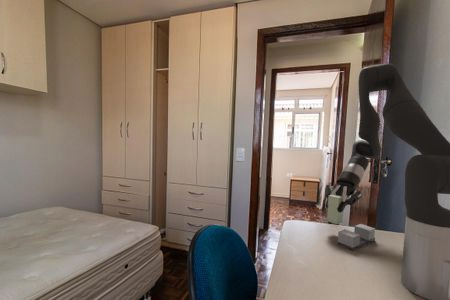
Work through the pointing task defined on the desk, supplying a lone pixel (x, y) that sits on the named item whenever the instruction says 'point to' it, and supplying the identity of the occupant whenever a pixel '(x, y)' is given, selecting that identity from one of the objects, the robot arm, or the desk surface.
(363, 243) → the dark gray flat board
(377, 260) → the desk surface
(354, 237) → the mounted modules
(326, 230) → the desk surface
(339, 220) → the block
